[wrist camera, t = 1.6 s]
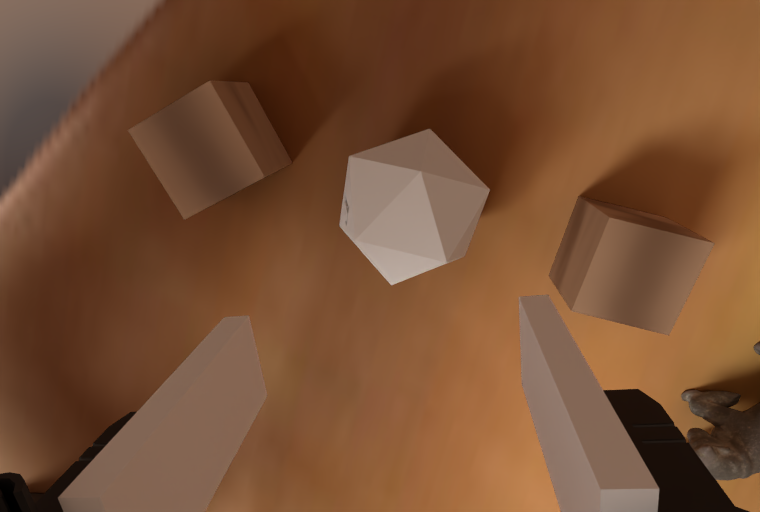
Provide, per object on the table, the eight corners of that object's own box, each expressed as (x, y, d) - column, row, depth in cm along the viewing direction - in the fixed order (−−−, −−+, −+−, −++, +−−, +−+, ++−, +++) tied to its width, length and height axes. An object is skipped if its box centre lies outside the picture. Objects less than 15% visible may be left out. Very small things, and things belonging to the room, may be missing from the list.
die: (418, 99, 32) (305, 136, 26) (534, 158, 28) (436, 220, 22) (394, 202, 38) (297, 254, 31) (489, 263, 34) (400, 336, 27)
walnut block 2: (548, 275, 34) (571, 311, 29) (578, 195, 32) (609, 217, 27) (629, 295, 34) (669, 335, 29) (665, 216, 32) (714, 243, 27)
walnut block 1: (224, 199, 35) (184, 219, 29) (178, 123, 34) (127, 130, 28) (292, 162, 34) (264, 177, 28) (248, 82, 32) (209, 80, 27)
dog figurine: (785, 326, 34) (877, 387, 27) (823, 382, 35) (921, 455, 28) (631, 409, 37) (677, 482, 30) (670, 458, 38) (723, 540, 31)
